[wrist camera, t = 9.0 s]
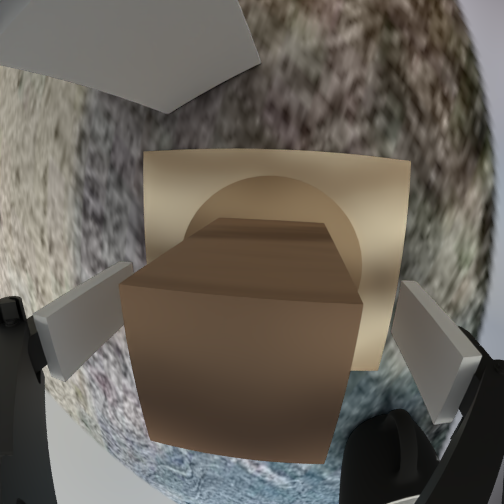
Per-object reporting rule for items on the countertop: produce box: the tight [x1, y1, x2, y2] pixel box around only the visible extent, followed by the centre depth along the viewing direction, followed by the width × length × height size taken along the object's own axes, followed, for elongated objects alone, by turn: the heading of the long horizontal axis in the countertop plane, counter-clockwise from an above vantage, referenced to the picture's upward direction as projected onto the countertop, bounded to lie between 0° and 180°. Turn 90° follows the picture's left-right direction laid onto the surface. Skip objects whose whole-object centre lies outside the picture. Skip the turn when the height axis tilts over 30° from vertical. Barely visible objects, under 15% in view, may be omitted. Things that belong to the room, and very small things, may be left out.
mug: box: [339, 409, 440, 504], centre depth 18 cm, size 12×9×10 cm
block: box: [118, 218, 364, 464], centre depth 13 cm, size 6×6×11 cm
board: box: [143, 149, 411, 371], centre depth 19 cm, size 14×16×2 cm
